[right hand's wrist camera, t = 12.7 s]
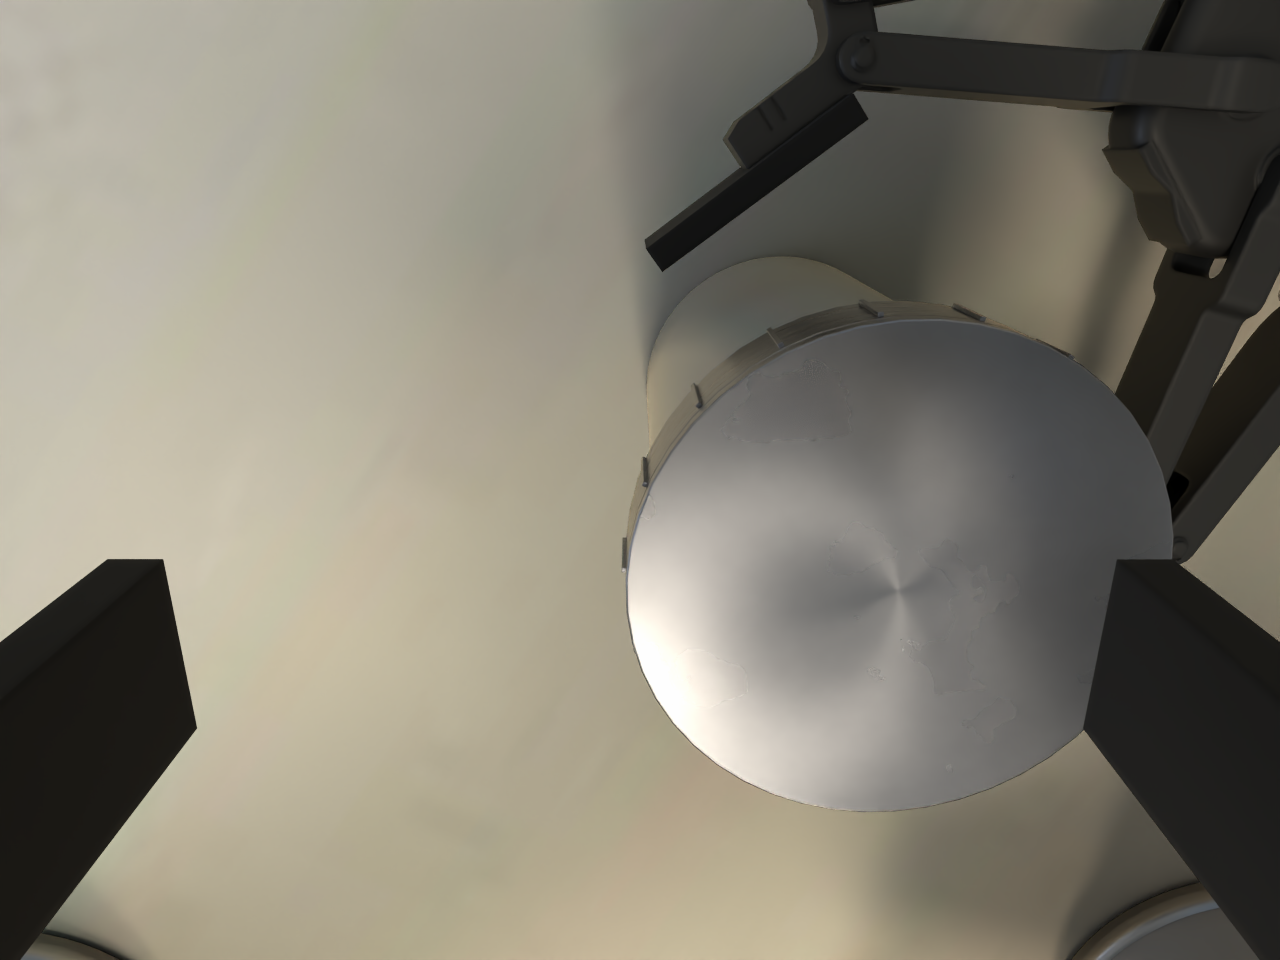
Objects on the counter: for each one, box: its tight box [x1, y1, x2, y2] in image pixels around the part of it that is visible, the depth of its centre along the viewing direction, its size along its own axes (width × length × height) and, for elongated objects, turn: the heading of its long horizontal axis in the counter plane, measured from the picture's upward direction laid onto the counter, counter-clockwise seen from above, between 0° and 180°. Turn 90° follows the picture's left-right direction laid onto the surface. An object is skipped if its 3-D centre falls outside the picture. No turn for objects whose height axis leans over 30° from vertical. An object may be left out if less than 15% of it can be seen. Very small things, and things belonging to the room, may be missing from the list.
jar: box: [646, 256, 893, 448], centre depth 26 cm, size 10×10×16 cm
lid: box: [622, 299, 1173, 812], centre depth 19 cm, size 11×11×2 cm
